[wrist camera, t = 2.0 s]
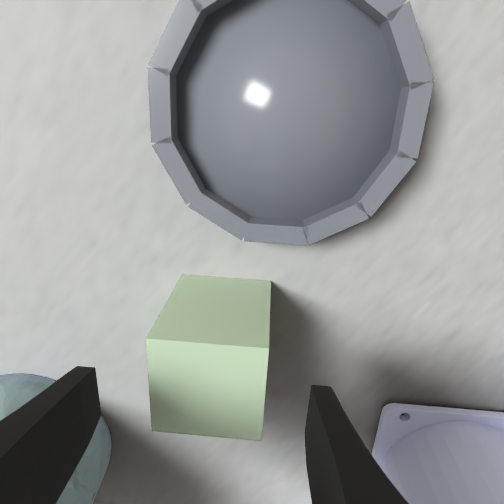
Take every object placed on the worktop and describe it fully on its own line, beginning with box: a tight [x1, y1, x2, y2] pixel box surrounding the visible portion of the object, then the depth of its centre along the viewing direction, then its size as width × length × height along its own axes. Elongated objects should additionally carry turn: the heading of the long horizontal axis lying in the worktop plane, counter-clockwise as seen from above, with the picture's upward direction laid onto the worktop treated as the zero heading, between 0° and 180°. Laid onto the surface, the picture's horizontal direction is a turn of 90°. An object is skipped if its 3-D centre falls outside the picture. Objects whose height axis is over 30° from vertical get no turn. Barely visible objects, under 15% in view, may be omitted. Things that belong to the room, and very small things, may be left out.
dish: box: [148, 0, 434, 245], centre depth 13 cm, size 9×9×2 cm
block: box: [146, 274, 271, 441], centre depth 15 cm, size 4×4×5 cm
